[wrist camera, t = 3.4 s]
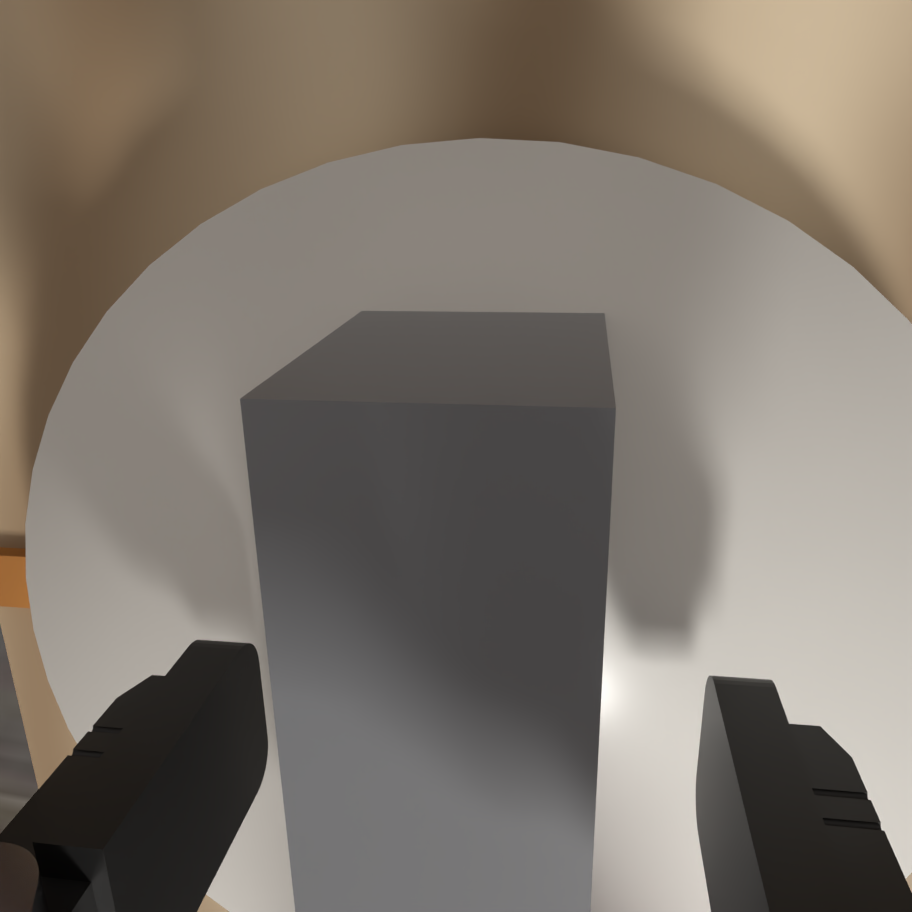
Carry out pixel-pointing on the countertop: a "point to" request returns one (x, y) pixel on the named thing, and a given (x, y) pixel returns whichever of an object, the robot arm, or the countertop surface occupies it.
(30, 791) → the countertop surface
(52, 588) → the dial
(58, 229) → the dial base
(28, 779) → the countertop surface
